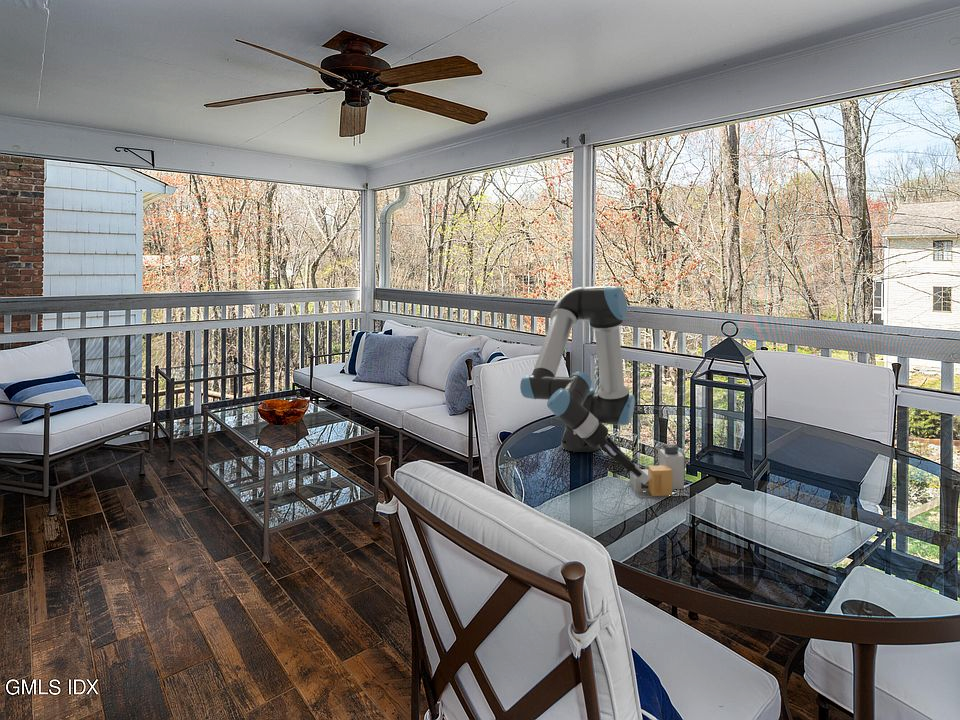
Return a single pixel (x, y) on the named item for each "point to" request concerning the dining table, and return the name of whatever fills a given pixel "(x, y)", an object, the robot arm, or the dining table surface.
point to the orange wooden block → (660, 480)
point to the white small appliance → (666, 457)
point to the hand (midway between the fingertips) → (646, 480)
